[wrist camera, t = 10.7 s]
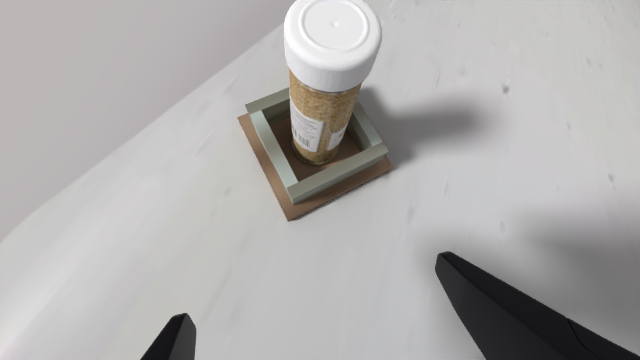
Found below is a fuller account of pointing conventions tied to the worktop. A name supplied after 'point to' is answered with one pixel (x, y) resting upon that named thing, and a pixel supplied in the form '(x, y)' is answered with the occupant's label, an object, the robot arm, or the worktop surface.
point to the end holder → (304, 179)
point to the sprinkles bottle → (327, 70)
